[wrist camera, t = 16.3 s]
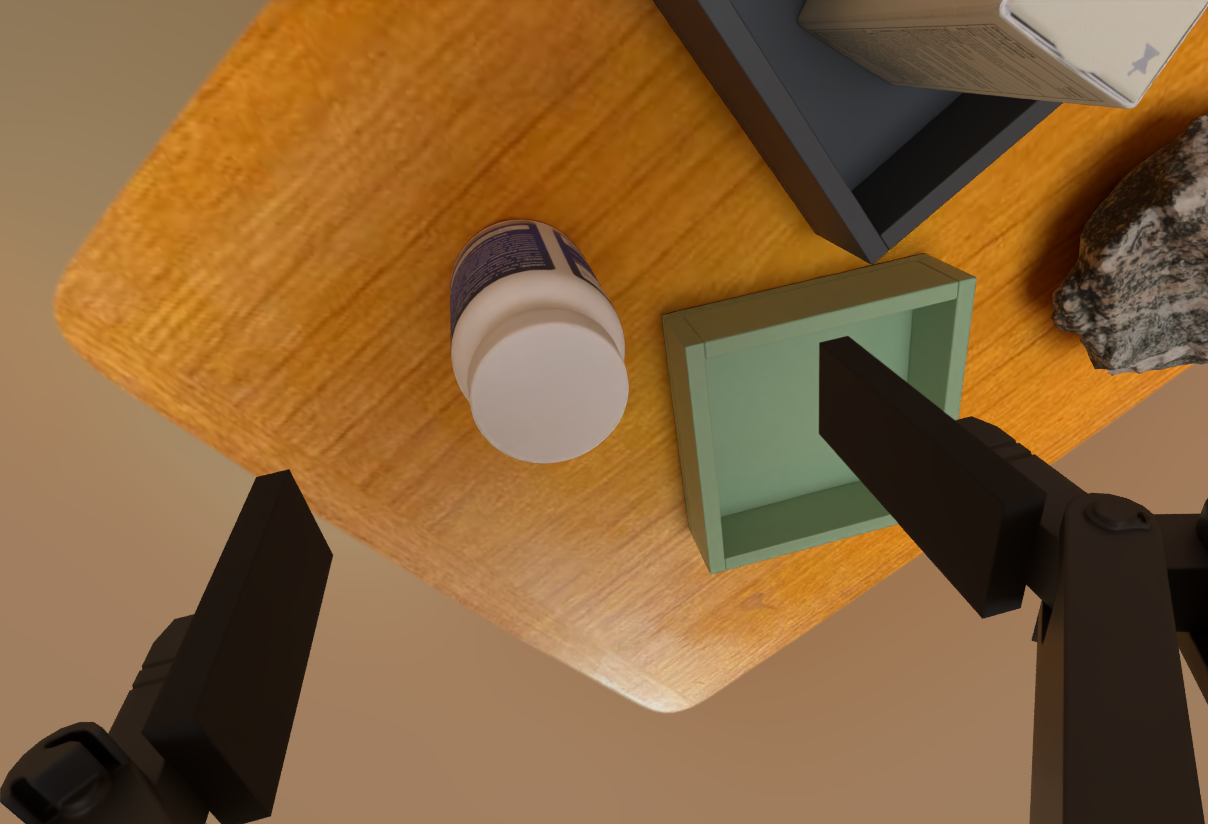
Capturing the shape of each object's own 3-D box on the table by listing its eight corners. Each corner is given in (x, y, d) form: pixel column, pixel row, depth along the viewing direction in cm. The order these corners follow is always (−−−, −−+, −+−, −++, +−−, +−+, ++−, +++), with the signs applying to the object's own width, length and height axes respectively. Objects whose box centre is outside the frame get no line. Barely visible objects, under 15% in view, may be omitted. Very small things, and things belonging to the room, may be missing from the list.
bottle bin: (688, 529, 36) (710, 575, 33) (660, 314, 30) (684, 347, 27) (906, 471, 37) (947, 511, 34) (925, 252, 31) (977, 276, 28)
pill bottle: (439, 336, 28) (434, 468, 20) (462, 201, 26) (467, 284, 17) (571, 359, 30) (618, 488, 21) (604, 233, 27) (672, 323, 19)
